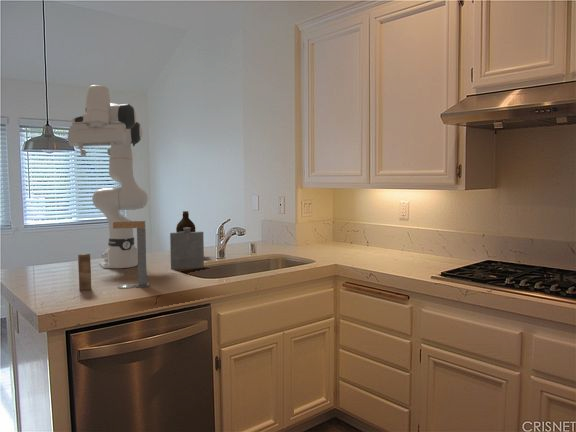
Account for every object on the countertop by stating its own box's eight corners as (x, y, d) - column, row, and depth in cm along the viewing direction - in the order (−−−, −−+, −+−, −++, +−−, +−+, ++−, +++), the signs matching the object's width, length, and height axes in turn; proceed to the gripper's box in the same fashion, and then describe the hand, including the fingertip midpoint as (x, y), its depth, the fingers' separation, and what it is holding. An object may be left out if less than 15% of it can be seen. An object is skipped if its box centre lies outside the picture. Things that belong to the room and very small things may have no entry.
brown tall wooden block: (77, 289, 185) (76, 254, 184) (89, 287, 188) (88, 253, 187) (81, 291, 182) (80, 255, 181) (93, 289, 185) (91, 254, 184)
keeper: (114, 289, 186) (112, 222, 183) (117, 285, 193) (115, 221, 190) (148, 287, 188) (146, 222, 186) (149, 283, 195) (148, 220, 193)
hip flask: (203, 266, 233) (202, 226, 231) (204, 267, 229) (204, 227, 227) (170, 268, 228) (169, 227, 226) (171, 270, 224) (170, 228, 222)
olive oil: (199, 254, 269) (198, 210, 267) (189, 257, 259) (188, 212, 257) (183, 253, 272) (182, 210, 270) (173, 256, 262) (172, 211, 260)
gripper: (127, 126, 183) (127, 157, 179) (72, 127, 180) (70, 159, 176) (124, 117, 178) (124, 149, 173) (67, 118, 174) (65, 151, 170)
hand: (96, 154), depth 174 cm, fingers open, 8 cm apart
